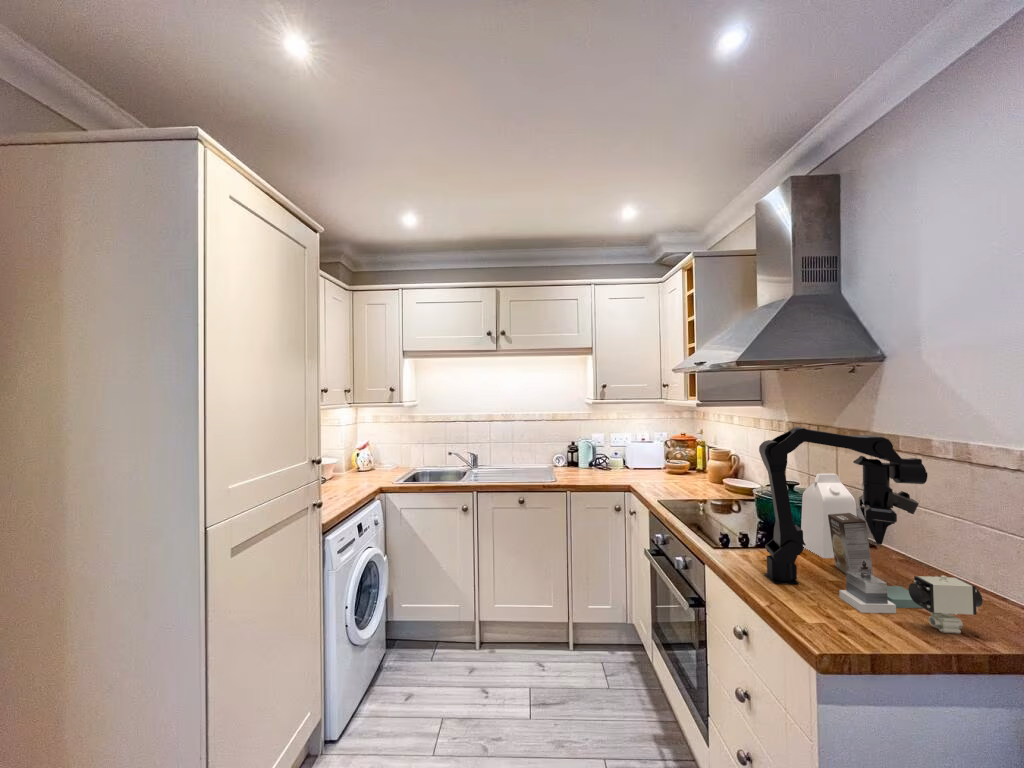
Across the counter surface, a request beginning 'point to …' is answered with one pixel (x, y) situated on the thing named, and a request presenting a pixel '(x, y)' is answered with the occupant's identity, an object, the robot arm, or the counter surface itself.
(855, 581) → the block
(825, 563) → the counter surface
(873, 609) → the stand
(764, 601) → the counter surface
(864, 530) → the coffee box
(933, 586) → the pneumatic valve
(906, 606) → the stand
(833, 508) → the milk
